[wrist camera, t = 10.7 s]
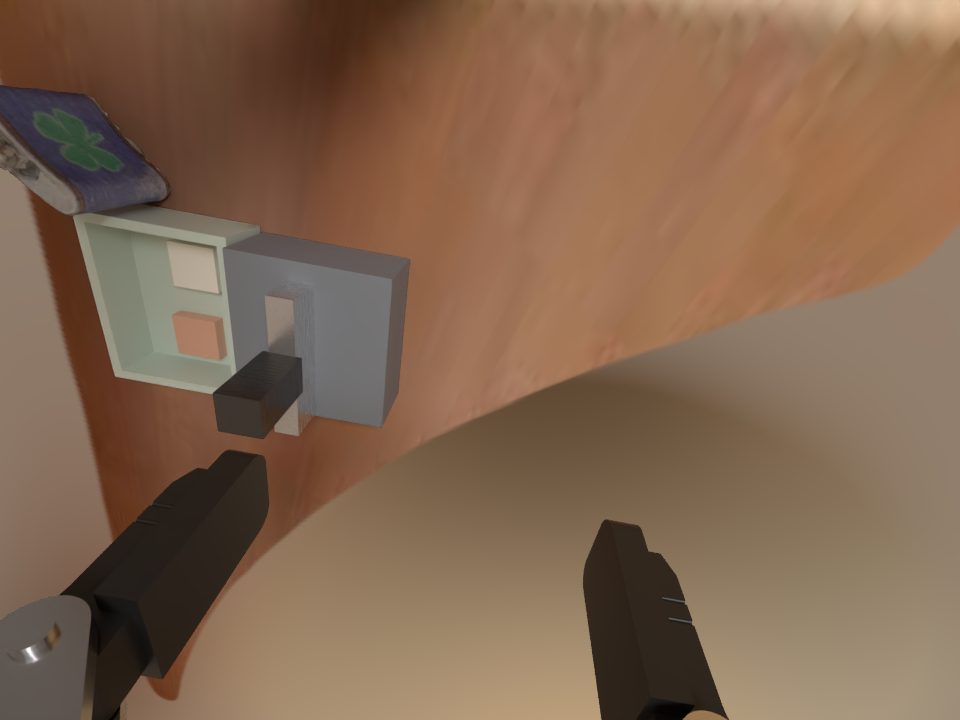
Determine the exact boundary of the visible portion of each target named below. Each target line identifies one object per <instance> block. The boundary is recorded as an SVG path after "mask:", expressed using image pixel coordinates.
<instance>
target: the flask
mask: <svg viewBox="0 0 960 720" xmlns="http://www.w3.org/2000/svg"><path fill="white" fill-rule="evenodd" d="M119 130H120V127H118V126H117V125H115V124H113V123H112V122H111V121H110V120H109V118H108V116H107V113H105V112H104V111H103V110H102V109H101V107H100V106H99V105H98V104H97V102H96V101H95V99H94V98H92V97H90V96H88V95H85V94H81V93H80V92H79V94H77V93H67V92H55V91H46V90H41V89H31V88H17V87H9V86H4V85H0V168H2V169H4V170H8V171H9V172H10V173H11V174H13V175H14V176H15V177H17V178H18V179H19V180H20V181H21V182H22V183H23V184H24V185H25V186H26V187H28V188H29V189H30V190H32V191H33V192H34V193H36V194H37V195H38V196H39V197H41V198H42V199H43V200H44V201H45V202H47V203H48V204H49V205H51V206H53V207H54V208H55V209H56V210H57V211H59V212H61V213H63V214H65V215H68V216H74V215H80V214H85V213H90V212H95V211H101V210H106V209H114V208H119V207H124V206H129V205H135V204H140V203H146V202H153V201H161V200H163V199H165V198H166V197H167V196H168V194H169V192H170V191H171V188H170V186H169V185H168V182H167V180H166V178H165V177H164V175H163V174H162V173H161V171H160V170H159V169H158V168H157V167H153V165H152V164H151V163H150V162H149V161H148V159H146V157H145V156H144V155H143V152H142V151H141V150H140V149H139V148H138V146H137V145H136V144H134V142H133V141H132V140H130V139H128V138H126V137H125V136H123V135H122V134H121V132H120V131H119Z"/></svg>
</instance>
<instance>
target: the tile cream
mask: <svg viewBox="0 0 960 720" xmlns="http://www.w3.org/2000/svg"><path fill="white" fill-rule="evenodd" d="M166 242H167V248H168V254H169V259H170V265H171V270H172V276H173V282H174V286H179V287H184V288H190V289H196V290H201V291H207V292H213V293H218V294H219V293H221V292H222V289H221V281H220V272H219V264H218V255H217V247H216V246H212V245H207V244H201V243H196V242H190V241H185V240H179V239H170V240H167V241H166Z"/></svg>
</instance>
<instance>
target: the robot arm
mask: <svg viewBox="0 0 960 720" xmlns="http://www.w3.org/2000/svg"><path fill="white" fill-rule="evenodd" d="M268 508H269V495H268V483H267V472H266V461H265V458H264V456H262V455H258V454H252V453H247V452H241V451H236V450H227V451H225V452H224V453H222V454H221V455H220V457H219V458H218V459H217V460H216V461H215V462H214V463H213V464H212V465H211V466H210V467H209V468H208V469H207V470H206V469H201V468H197V469H195V470H193V471H191V472H190V473H188V474H186V475H184V476H183V477H181V478H179V479H178V480H176V481H174V482H172V483H171V484H170V485H169V486H168V487H167V488H166V489H165V490H164V491H163V492H162V493H161V494H160V495H159V496H158V497H157V498H156V499H155V500H154V501H153V505H152V506H149V507H148V508H147V509H146V510H145V511H144V512H143V513H142V514H141V515H140V516H139V517H138V518H137V521H136V522H133V523H132V524H131V525H130V526H129V527H128V528H127V529H126V530H125V531H124V532H123V533H122V534H121V535H120V536H119V537H118V538H117V539H116V540H115V541H114V542H113V543H112V544H111V545H110V546H109V547H108V548H107V549H106V550H105V551H104V552H103V553H102V554H101V555H100V556H99V557H98V558H97V559H96V560H95V561H94V562H93V563H92V564H91V565H90V566H89V567H88V568H87V569H86V570H85V571H84V572H83V573H82V574H81V575H80V576H79V577H78V578H77V579H76V580H75V581H74V582H73V583H72V584H71V585H70V586H69V587H68V588H67V589H66V590H65V591H63V592H62V593H61V594H60V595H58V596H52V597H48V598H44V599H40V600H37V601H34V602H32V603H29V604H27V605H25V606H23V607H20V608H19V609H17V610H15V611H13V612H12V613H10V614H8V615H7V616H6V617H4V618H2V619H1V620H0V720H126V719H127V697H126V696H127V694H128V693H129V691H130V690H131V689H132V687H133V686H134V684H135V683H136V682H137V680H138V678H139V677H140V676H141V675H142V676H147V677H153V678H158V679H163V678H164V677H165V675H166V674H167V672H168V671H169V669H170V667H171V666H172V664H173V663H174V661H175V660H176V658H177V657H178V655H179V654H180V652H181V651H182V649H183V648H184V646H185V645H186V643H187V641H188V640H189V638H190V637H191V635H192V634H193V632H194V631H195V629H196V628H197V626H198V625H199V623H200V622H201V620H202V619H203V617H204V615H205V614H206V612H207V611H208V609H209V608H210V606H211V605H212V603H213V602H214V600H215V599H216V597H217V596H218V594H219V593H220V591H221V589H222V588H223V586H224V585H225V583H226V582H227V580H228V579H229V577H230V576H231V574H232V573H233V571H234V570H235V568H236V566H237V565H238V563H239V562H240V560H241V559H242V557H243V556H244V554H245V553H246V551H247V550H248V548H249V547H250V545H251V544H252V542H253V540H254V539H255V537H256V536H257V534H258V533H259V531H260V530H261V528H262V526H263V524H264V522H265V519H266V516H267V513H268ZM583 589H584V597H585V603H586V611H587V619H588V626H589V633H590V640H591V647H592V654H593V662H594V668H595V676H596V683H597V691H598V698H599V705H600V712H601V719H602V720H729V719H728V717H727V715H726V713H725V711H724V708H723V706H722V703H721V700H720V697H719V695H718V692H717V689H716V686H715V683H714V680H713V678H712V675H711V672H710V669H709V666H708V663H707V660H706V658H705V655H704V652H703V649H702V647H701V644H700V641H699V638H698V635H697V632H696V629H695V627H694V626H693V625H692V618H691V615H690V612H689V610H688V607H687V605H685V598H684V595H683V593H682V590H681V587H680V584H679V581H678V579H677V576H676V574H675V573H674V572H673V570H672V569H671V568H670V566H669V565H668V563H667V562H666V561H665V559H664V558H663V557H662V555H661V554H659V553H653V552H648V549H647V546H646V542H645V539H644V536H643V533H642V530H641V528H640V527H639V526H638V525H634V524H628V523H623V522H617V521H612V520H604V521H603V523H602V524H601V527H600V529H599V531H598V534H597V536H596V539H595V541H594V543H593V546H592V548H591V551H590V553H589V555H588V558H587V560H586V563H585V568H584V575H583Z"/></svg>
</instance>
